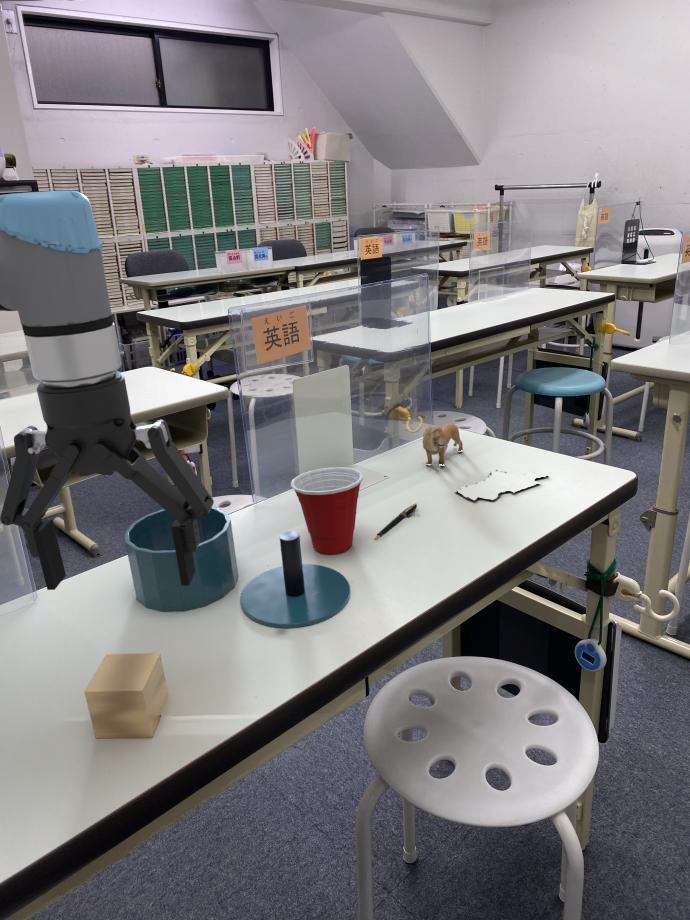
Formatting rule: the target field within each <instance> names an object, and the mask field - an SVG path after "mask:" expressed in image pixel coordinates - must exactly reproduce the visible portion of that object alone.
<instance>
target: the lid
mask: <svg viewBox="0 0 690 920" xmlns="http://www.w3.org/2000/svg"><path fill="white" fill-rule="evenodd" d="M279 546H280V553H281V555H280V556H281V563H282V566H278V567H275V568H272V569H269V570H267V571H264V572H262V573H260V574H258V575H256V576H255V577H254V578H252V579H251V580H250V581H248V583H247V584H246V585H245V586H244V587H243V589H242V591H241V593H240V606H241V609H242V612H243V613H244V614H245V615H246V616H247V617H248V618H249V619H250V620H252V621H254V622H255V623H258V624H260V625H264V626H266V627H272V628H280V629H293V628H303V627H308V626H311V625H312V626H313V625H316V624H320V623H321V622H324V621H326V620H329V619H330V618H333V616H335V615H336V614H338V613H339V612H340V611H342V610H343V608H344V607H346V605H347V603H348V602H349V599H350V598H351V597H350V596H351V586H350V583H349V580H348V579H347V578H346V577H345V575H343V574H342V573H341V572H339V571H337V570H336V569H334V568H331V567H328V566H324V565H320V564H312V563H303V558H302V548H301V537H300V533H299V532H297V531H292V530H291V531H284V532H283V533H281V534H280V535H279Z"/></svg>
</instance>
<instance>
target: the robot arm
mask: <svg viewBox="0 0 690 920" xmlns="http://www.w3.org/2000/svg"><path fill="white" fill-rule="evenodd" d="M93 212H94V211H93V209H92V205H91V202H90V200H89V198H88V197H87V196H86V195H85V194H84V193H82V192H79V191H77V190H49V191H48V190H47V191H30V192H16V193H8V194H7V193H6V194H0V312H16V311H17V313H18V317H19V322H20V325H21V328H22V331H23V335H24V341H25V345H26V349H27V354H28V359H29V364H30V369H31V373H32V377H33V378H34V379H35V380H37V381H39V383H38V386H37V387H36V394H37V398H38V401H39V407H40V410H41V414H42V419H43V422H44V423H45V424H46V430H40V429H38V427H36V426H34V425H28V426H27V427H25V428H24V429H22V430H21V431H20V432H18V433H16V434H15V435H14V436H13V443H14V451H15V459H14V463H13V467H12V471H11V474H10V479H9V483H8V487H7V490H6V494H5V498H4V501H3V505H2V509H1V514H0V523H1V524H2V525H4V526H7V527H9V526H11V525H15V526H18V527H20V528H21V529H22V530H23V532H24V534H25V539H26V542H27V547H28V550H29V554H30V555H31V557H32V558H38V560H39V563H40V567H41V570H42V571H41V572H42V574H43V577H44V578H43V579H44V583H45V586H46V590H47V591H54V590H56V589H57V588H58V586H59V585H60V584H61V583H62V581H63V580H64V579H65V578H66V577H67V574H66V573H67V572H66V570H65V565H64V562H63V557H62V553H61V549H60V545H59V540H58V537H57V531H56V528H55V525H54V520H53V518H49V519H48V518H46V519H44V520H43V518H44V517H45V516H46V515H47V512H48V510H49V509H50V508H51V506H52V504H53V503H54V502H55V500H56V498H57V496H58V495H59V494H60V492H61V490H62V489H63V487H64V486H65V484H66V482H67V481H68V480H69V478H70V476H71V475H72V473H73V472H74V473H75V474H78V476H79V477H89V476H91V475H95V474H97V475H101V476H112V475H113V474H114V473H116V472H117V473H118V474H119V475H121V477H122V478H124V479H125V480H130V481H131V482H132V483H134V484H135V485H136V486H137V487H138V488H139V489H140V490H141V491H143V492H144V493H145V494H147V496H149V497H150V498H151V499H152V500H153V501H154V502H155V503H157V505H159V506H160V507H161V508H162V509H165V510H166V511H167V512H168V513H169V514H170V515H171V516H173V517H174V518H175V519H176V520H175V522H174V523H173V525H172V527H171V528H172V534H173V539H174V545H175V551H176V557H177V563H178V569H179V574H180V580H181V586H189V584H190V582H191V580H192V578H193V576H194V574H195V565H194V559H193V552H195V551H196V549H197V547H198V545H199V542H200V537H199V530H198V524H197V519H198V518H205V517H207V515H208V513H209V512H210V510H211V508H212V507H214V506H213V505H214V501H215V500H214V499H213V497H212V495H211V494H210V493H209V491H208V490H207V489H206V487H205V485H204V484H203V483H202V481H201V480H200V478H199V477H198V475H197V474H196V473H195V471H194V470H193V469H192V467H191V466H190V464H189V463H188V461H187V460H186V458H185V457H184V455H183V454H182V452H180V450H179V449H178V447H177V445H175V444H176V443H174V441H173V438H172V435H171V432H170V429H169V425H168V423H167V421H166V420H164V419H157V420H156V421H155V422H154V423H153V424H146V425H141V426H137V425H136V424H135V422H134V420H133V419H132V415H131V414H132V412H131V405H130V399H129V395H128V394H129V393H128V390H127V383H126V379H125V375H124V374H122V373H121V372H120V371H119V369H121V367H122V358H121V352H120V346H119V340H118V337H117V330H116V325H115V323H114V317H113V316H114V315H113V312H112V308H111V303H110V302H111V301H110V296H109V289H108V284H107V278H106V272H105V265H104V258H103V251H102V250H103V244H102V241H101V240H100V238H99V234H98V233H99V232H98V229H97V225H96V221H95V217H94V213H93ZM138 441H141V442H142V443H143V444H144V447H145V448H146V449H148V450H149V449H150V450H151V452H152V453H153V455H154V457H155V459H156V460H157V462H158V463H159V464H160V466H161V468H162V469H163V470H164V472H165V473H166V474H167V476H168V477H169V479H170V480H171V482H172V483H173V484H174V485H173V484H172V483H171V482H170V481H169V480H168V479H167V478H165V476H163V475H162V474H161V473H160V472H159V471H158V470H157V469H156V468H154V467H153V466H152V465H151V464H150V463H149V462H148V461H147V458H146V456H144V454H143V453H141V452H140V451H139V450H138V449H137V448H136V447H135V446H136V445H137V443H138ZM46 446H47V448H48V449H49V450H50V451H51V452H52V453H53V454H54V455H55V456H56V457H57V458H58V460H57V462H56V464H54V466H53V468H52V469H51V471H50V473H49V476H48V477H47V479H46V481H45V482H44V484H43V485H42V487H41V488H40V490H39V492H38V494H37V495H36V497H35V498H34V499H33V501H32V503H31V504H30V506H29V508H26V507H27V503H28V499H29V495H30V492H31V488H32V485H33V481H34V477H35V475H36V474H35V473H36V470H37V467H38V462H39V459H40V454H41V452H42V451H43V450H45V447H46Z"/></svg>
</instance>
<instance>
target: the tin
mask: <svg viewBox="0 0 690 920" xmlns="http://www.w3.org/2000/svg"><path fill="white" fill-rule="evenodd" d="M175 520H176V519H175V518H174V517H173V516H171V515H170V514H169V513H168V512H167V511H166V510H165V509H163V508H162V509H159V510H156V511H154V512H152V513H148V514H146V515H144V516H141V517H140V518H139V519H138V520H136V521H134V522H133V523H131V524H130V526H129V527H128V528H127V530H126V531H125V532H124V533H123V534H124V543H125V549H126V553H127V556H128V557H127V558H128V562H129V568H130V573H131V579H132V582H133V587H134V592H135V598H136V600H137V602H139V603H140V604H141V605H142V606H143V607H144V608H146V609H148V610H149V609H150V610H153V611H157V612H161V613H183V612H187V611H192V610H197V609H201V608H204V607H207V606H209V605H211V604H214V603H215V602H218V601H219V600H222V599H224V598H225V597H226V596H227V595H228V594H229V593H230V592H231V591H232V590H234V589H235V587H236V585H237V583H238V579H239V570H238V564H237V563H238V562H237V556H236V549H235V548H236V547H235V541H234V533H233V526H232V520H231V518H230V516H229V514H228V513H227V511H225V510H223V509H221V508H219V507H217V506H212V508H211V510H210V512H209V513H208V515H207V517H205V518H198V519H197V524H198V530H199V537H200V542H199V545H198V547H197V549H196V551H195V552H193V559H194V565H195V574H194V576H193V578H192V580H191V582H190V584H189V586H181V580H180V574H179V569H178V563H177V557H176V551H175V545H174V539H173V534H172V528H171V527H172V525H173V523H174V522H175Z"/></svg>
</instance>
